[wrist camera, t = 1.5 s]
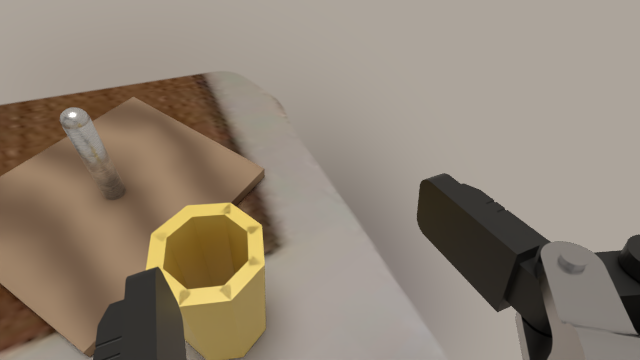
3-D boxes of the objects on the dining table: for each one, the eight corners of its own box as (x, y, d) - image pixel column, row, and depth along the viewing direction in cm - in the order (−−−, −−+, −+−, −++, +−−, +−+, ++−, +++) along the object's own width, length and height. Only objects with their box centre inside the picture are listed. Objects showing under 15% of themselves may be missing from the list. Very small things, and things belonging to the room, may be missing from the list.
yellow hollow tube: (231, 379, 25) (212, 331, 16) (167, 330, 26) (118, 263, 18) (281, 306, 28) (286, 236, 20) (221, 267, 30) (203, 186, 21)
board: (90, 357, 24) (83, 352, 24) (-63, 229, 29) (-74, 221, 28) (264, 176, 36) (264, 168, 35) (136, 105, 41) (133, 96, 40)
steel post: (114, 204, 31) (66, 123, 24) (99, 195, 32) (49, 112, 24) (131, 191, 32) (90, 109, 25) (116, 182, 33) (73, 98, 25)
